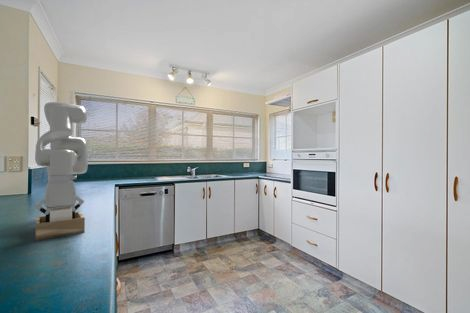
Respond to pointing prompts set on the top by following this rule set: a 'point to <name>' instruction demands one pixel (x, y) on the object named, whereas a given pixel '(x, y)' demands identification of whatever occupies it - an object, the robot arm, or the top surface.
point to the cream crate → (60, 213)
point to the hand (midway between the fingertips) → (60, 221)
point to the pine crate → (59, 227)
